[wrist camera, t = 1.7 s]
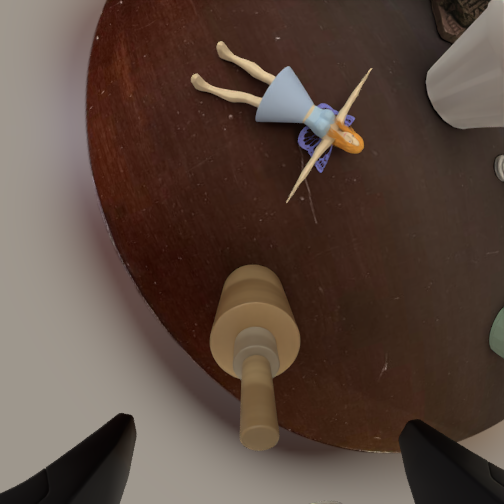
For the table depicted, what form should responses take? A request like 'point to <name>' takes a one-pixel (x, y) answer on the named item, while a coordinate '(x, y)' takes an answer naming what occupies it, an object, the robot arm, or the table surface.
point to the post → (253, 315)
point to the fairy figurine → (292, 109)
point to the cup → (472, 74)
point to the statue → (456, 16)
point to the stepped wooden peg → (257, 387)
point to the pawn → (499, 167)
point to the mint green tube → (498, 334)
